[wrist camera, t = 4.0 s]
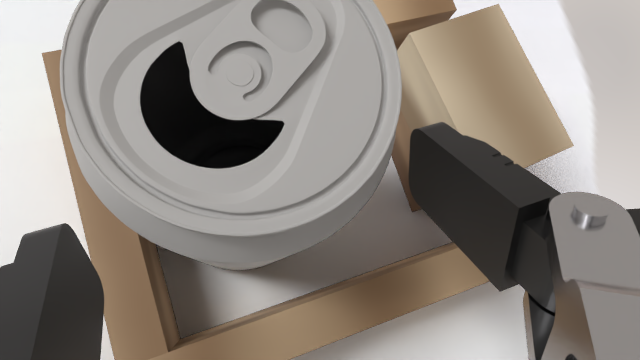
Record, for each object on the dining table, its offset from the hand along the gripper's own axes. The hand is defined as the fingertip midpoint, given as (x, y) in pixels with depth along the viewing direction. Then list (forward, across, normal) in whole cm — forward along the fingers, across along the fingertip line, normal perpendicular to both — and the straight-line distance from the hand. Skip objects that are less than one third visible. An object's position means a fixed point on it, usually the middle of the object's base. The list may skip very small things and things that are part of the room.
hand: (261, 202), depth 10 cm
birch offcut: (+6, -9, +3) cm, 11 cm away
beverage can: (+7, 0, +5) cm, 9 cm away
